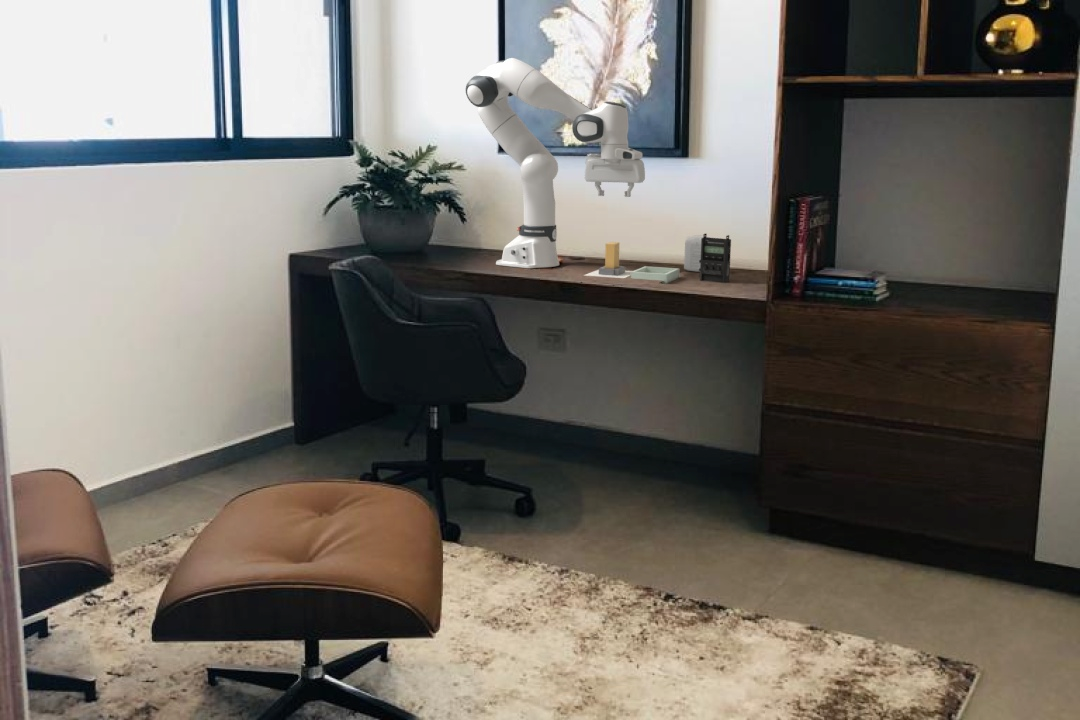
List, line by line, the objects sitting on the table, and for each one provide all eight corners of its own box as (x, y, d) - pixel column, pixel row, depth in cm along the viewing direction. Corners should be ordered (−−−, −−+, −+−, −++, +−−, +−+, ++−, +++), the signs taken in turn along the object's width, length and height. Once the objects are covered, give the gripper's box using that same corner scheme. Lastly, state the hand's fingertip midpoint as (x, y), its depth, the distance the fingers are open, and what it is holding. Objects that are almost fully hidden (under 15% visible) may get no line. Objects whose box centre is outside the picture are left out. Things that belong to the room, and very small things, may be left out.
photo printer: (714, 272, 377) (716, 235, 374) (709, 273, 373) (710, 237, 370) (687, 269, 382) (688, 233, 379) (682, 271, 379) (683, 234, 376)
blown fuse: (605, 274, 364) (605, 243, 362) (610, 272, 369) (610, 242, 367) (613, 274, 363) (614, 244, 361) (618, 272, 368) (619, 242, 365)
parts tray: (630, 281, 356) (630, 272, 356) (644, 275, 369) (644, 266, 368) (666, 283, 352) (666, 274, 351) (679, 277, 364) (679, 268, 364)
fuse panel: (583, 278, 362) (583, 269, 361) (600, 271, 376) (600, 262, 375) (623, 281, 356) (624, 272, 356) (639, 274, 371) (640, 265, 370)
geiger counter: (695, 280, 359) (697, 234, 355) (701, 278, 362) (703, 232, 359) (725, 283, 353) (727, 236, 350) (731, 281, 357) (733, 235, 353)
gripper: (581, 153, 360) (581, 196, 363) (639, 154, 351) (639, 198, 354) (589, 152, 365) (589, 194, 368) (647, 153, 356) (646, 196, 359)
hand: (614, 196), depth 361 cm, fingers open, 8 cm apart
